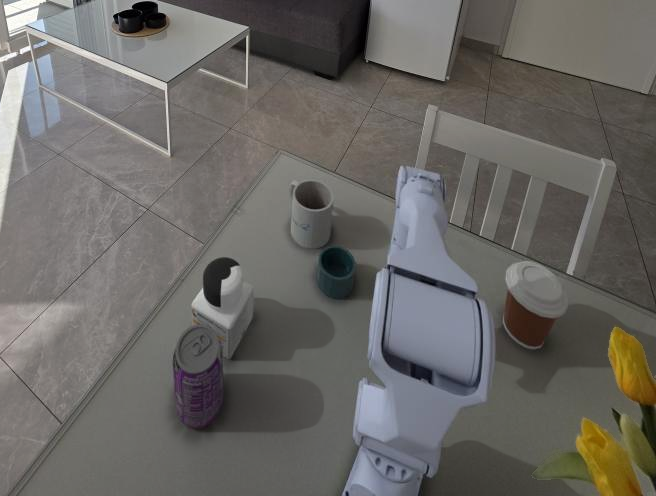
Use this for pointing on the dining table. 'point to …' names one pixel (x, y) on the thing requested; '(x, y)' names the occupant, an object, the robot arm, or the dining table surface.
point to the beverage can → (198, 376)
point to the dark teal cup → (336, 272)
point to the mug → (311, 213)
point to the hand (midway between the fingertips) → (400, 301)
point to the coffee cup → (532, 303)
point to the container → (224, 303)
